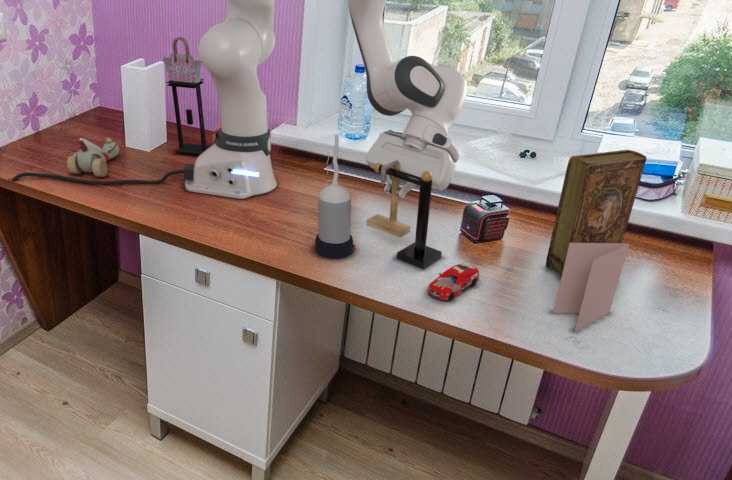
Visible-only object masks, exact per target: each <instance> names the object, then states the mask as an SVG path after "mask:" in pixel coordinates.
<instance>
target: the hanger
mask: <svg viewBox="0 0 732 480" xmlns="http://www.w3.org/2000/svg"><path fill="white" fill-rule="evenodd" d="M400 166H401V163H400V162H399V161H398V160H396V161H394V162H391V163H389V164H386V165H383V166H382V167H381V173H380V184H381V185H383V186H384V185H386V181H387V180H386V170H387V169H389V168H392V167H393V169H396V170H400ZM400 180H401V179H398V178H395V177H392V188H391V194H390V206H389V207H390V208H389V217H388V216H385V215H382V214H379V213H377V214H375V215H373V216H371V217H369V218H367V219H366V226H367V227H370V228H372V229H375V230H378V231H380V232H383V233H386V234H389V235H391V236H394V237H397V238H402V237H404V236H406V235H408V234H410V233H411V230H412V225H409V224H406V223H404V222H402V221H398V208H399V197H397V196H396V195H395V192H396V191H397V188H398V187H400Z"/></svg>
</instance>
